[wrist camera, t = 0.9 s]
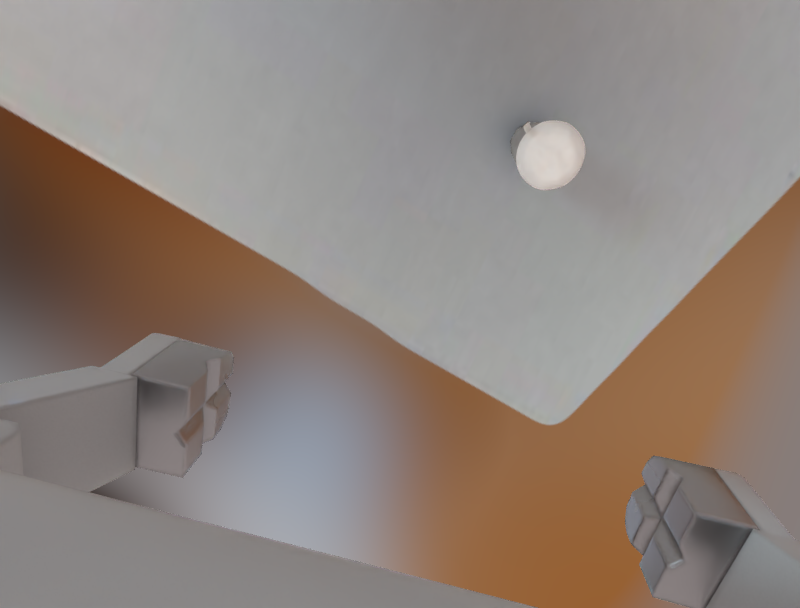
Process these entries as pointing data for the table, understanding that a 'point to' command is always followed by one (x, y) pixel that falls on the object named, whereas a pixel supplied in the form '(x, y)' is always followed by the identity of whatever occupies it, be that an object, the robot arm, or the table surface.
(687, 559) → the robot arm
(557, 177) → the milkshake
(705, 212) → the table surface
